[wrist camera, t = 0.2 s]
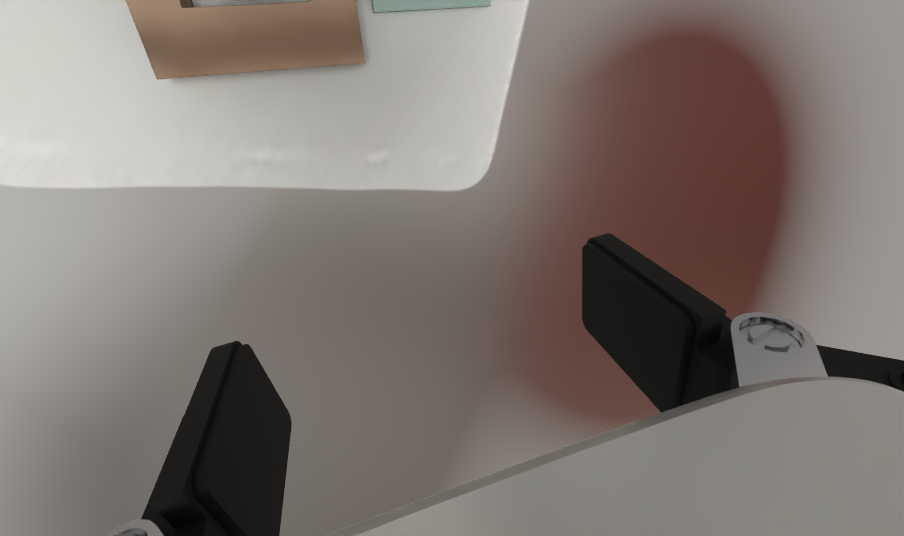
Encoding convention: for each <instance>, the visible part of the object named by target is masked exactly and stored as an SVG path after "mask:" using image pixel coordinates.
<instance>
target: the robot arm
mask: <svg viewBox="0 0 904 536" xmlns="http://www.w3.org/2000/svg"><path fill="white" fill-rule="evenodd" d="M582 253H583V255H582V258H583V259H582V260H583V261H582V262H583V263H582V266H583V267H582V320H583V323H584V326H585V328H586V329H587V331H588V332H589V333H590V334H591V335H592V336H593V337H594V338H595V340H596V341H597V342H598V343H599V344H600V345H601V346H602V347H603V348H604V349H605V351H606V352H607V353H608V354H609V355H610V356H611V357H612V358H613V359H614V361H615V362H616V363H617V364H618V365H619V366H620V367H621V368H622V369H623V371H624V372H625V373H626V374H627V375H628V376H629V377H630V378H631V379H632V381H634V383H635V384H636V385H637V386H638V387H639V388H640V389H641V390H642V392H643V393H644V394H645V395H646V396H647V397H648V398H649V399H650V400H651V402H652V403H653V404H654V405H655V406H656V407H657V408H658V409H659V410H660V411H661V413H659V414H656V415H653V416H650V417H648V418H645V419H642V420H639V421H637V422H634V423H631V424H628V425H626V426H622V427H620V428H617V429H614V430H611V431H608V432H606V433H603V434H600V435H597V436H595V437H592V438H589V439H586V440H583V441H581V442H578V443H575V444H572V445H570V446H567V447H564V448H562V449H559V450H556V451H553V452H550V453H547V454H545V455H542V456H539V457H537V458H534V459H531V460H528V461H525V462H523V463H520V464H517V465H515V466H512V467H509V468H506V469H504V470H501V471H498V472H495V473H493V474H490V475H487V476H484V477H482V478H479V479H476V480H473V481H471V482H468V483H466V484H463V485H460V486H457V487H454V488H452V489H449V490H446V491H443V492H441V493H438V494H435V495H433V496H430V497H428V498H425V499H422V500H419V501H417V502H414V503H411V504H408V505H406V506H403V507H400V508H398V509H395V510H392V511H390V512H387V513H384V514H381V515H379V516H376V517H373V518H371V519H368V520H366V521H363V522H360V523H357V524H355V525H352V526H349V527H347V528H344V529H341V530H338V531H336V532H333V533H330V534H328V535H325V536H904V361H903V360H897V359H892V358H886V357H880V356H875V355H869V354H863V353H858V352H853V351H847V350H841V349H836V348H830V347H824V346H819V345H816V343H815V341H814V339H813V337H812V336H811V334H810V333H809V332H808V331H807V330H806V329H805V328H804V327H802V326H801V325H799V324H797V323H796V322H794V321H792V320H790V319H786V318H784V317H781V316H778V315H772V314H768V313H747V314H743V315H740V316H738V317H736V318H735V319H734V320H733V321H732V320H730V319H729V318H728V317H726V316H725V313H726V310H725V309H723V308H722V307H720V306H719V305H717V304H716V303H714V302H713V301H711V300H710V299H708V298H707V297H705V296H704V295H702V294H701V293H699V292H698V291H696V290H695V289H693V288H692V287H690V286H689V285H687V284H686V283H684V282H683V281H681V280H680V279H678V278H677V277H675V276H673V275H672V274H671V273H669V272H668V271H666V270H665V269H663V268H662V267H660V266H659V265H657V264H655V263H654V262H653V261H651V260H650V259H648V258H646V257H645V256H644V255H642V254H640V253H639V252H637V251H636V250H635V249H633V248H632V247H630V246H629V245H627V244H625V243H624V242H623V241H621V240H620V239H618V238H617V237H615V236H614V235H612V234H610V233H607V234H603V235H600V236H597V237H593V238H590V239H589V240H588V242H587V245H584V247H583V251H582ZM290 434H291V418H290V414H289V412H288V410H287V408H286V407H285V405H284V403H283V401H282V400H281V398H280V396H279V395H278V393H277V391H276V390H275V388H274V386H273V384H272V383H271V381H270V379H269V378H268V376H267V374H266V372H265V371H264V369H263V367H262V366H261V364H260V362H259V360H258V359H257V357H256V355H255V354H254V352H253V350H252V348H251V347H250V346H249V345H248V344H245V345H242V344H241V343H240V342H239V341H235V342H231V343H228V344H225V345H221V346H217V347H214V348H212V350H211V351H210V353H209V356H208V358H207V361H206V363H205V366H204V368H203V371H202V373H201V376H200V378H199V381H198V383H197V385H196V388H195V391H194V393H193V396H192V398H191V400H190V403H189V405H188V407H187V410H186V412H185V415H184V416H183V418H182V421H181V423H180V426H179V428H178V431H177V433H176V435H175V438H174V440H173V443H172V445H171V448H170V450H169V453H168V455H167V457H166V460H165V462H164V465H163V467H162V470H161V472H160V474H159V477H158V480H157V482H156V484H155V487H154V489H153V492H152V494H151V496H150V499H149V502H148V504H147V506H146V509H145V511H144V514H143V516H142V519H139V520H135V521H131V522H128V523H125V524H123V525H121V526H120V527H118V528H116V529H114V530H112V531H111V532H109V533H108V534H107V535H106V536H279V533H280V524H281V515H282V506H283V497H284V488H285V479H286V470H287V460H288V452H289V443H290Z"/></svg>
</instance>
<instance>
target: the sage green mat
mask: <svg viewBox="0 0 904 536" xmlns="http://www.w3.org/2000/svg"><path fill="white" fill-rule="evenodd" d="M372 5H373V13H375V12H393V11H411V10H429V9H447V8H465V7H483V6H491V0H372Z"/></svg>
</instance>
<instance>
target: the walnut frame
mask: <svg viewBox="0 0 904 536" xmlns="http://www.w3.org/2000/svg"><path fill="white" fill-rule="evenodd" d="M126 2H127V5H128V7H129V10H130V12H131V15H132V17H133V20H134V23H135V25H136V28H137V30H138V33H139V35H140V38H141V40H142V43H143V45H144V48H145V50H146V53H147V56H148V58H149V61H150V63H151V66H152V68H153V71H154V73H155V76H156V78H157V79H169V78H181V77H194V76H206V75H219V74H231V73H244V72H256V71H269V70H281V69H294V68H307V67H319V66H332V65H344V64H357V63H365V60H364V53H363V47H362V40H361V34H360V27H359V21H358V14H357V8H356V1H355V0H311V2H295V3H275V4H255V5H234V6H214V7H194V8H193V4H192V1H191V0H126Z"/></svg>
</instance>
